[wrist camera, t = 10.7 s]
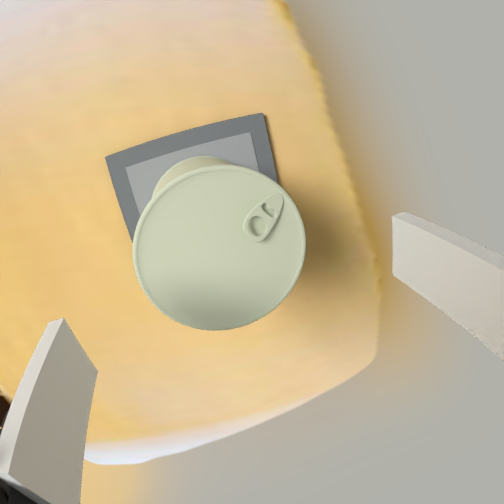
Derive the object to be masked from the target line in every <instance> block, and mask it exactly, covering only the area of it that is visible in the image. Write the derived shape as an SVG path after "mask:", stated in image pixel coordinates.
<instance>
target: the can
mask: <svg viewBox="0 0 504 504" xmlns="http://www.w3.org/2000/svg"><path fill="white" fill-rule="evenodd" d="M305 252H306V235H305V229H304V224H303V221H302V218H301V215H300V213H299V211H298V209H297V207H296V205H295V203H294V201H293V200H292V199H291V197H290V196H289V195H288V193H287V192H286V191H285V190H284V189H283V188H282V187H281V186H280V185H279V184H277V183H276V182H275V181H273V180H272V179H271V178H269V177H267V176H266V175H264V174H262V173H260V172H257V171H255V170H252V169H249V168H246V167H241V166H236V165H233V164H232V163H230V162H228V161H226V160H224V159H221V158H217V157H212V156H196V157H192V158H188V159H185V160H183V161H181V162H179V163H177V164H175V165H174V166H172V167H171V168H170V169H169V170H168V171H166V172H165V174H164V175H163V176H162V177H161V178H160V180H159V181H158V183H157V185H156V187H155V189H154V191H153V195H152V199H151V200H150V201H149V203H148V204H147V206H146V207H145V209H144V211H143V213H142V215H141V217H140V219H139V221H138V224H137V226H136V230H135V234H134V239H133V263H134V268H135V272H136V276H137V279H138V281H139V284H140V286H141V288H142V289H143V291H144V293H145V294H146V296H147V297H148V299H149V300H150V301H151V302H152V303H153V304H154V306H155V307H156V308H157V309H159V310H160V311H161V312H162V313H163V314H165V315H166V316H168V317H169V318H171V319H173V320H174V321H176V322H178V323H181V324H183V325H186V326H189V327H192V328H196V329H202V330H229V329H234V328H238V327H242V326H245V325H248V324H250V323H252V322H255V321H257V320H259V319H260V318H262V317H264V316H265V315H267V314H268V313H270V312H271V311H272V310H274V309H275V308H276V307H277V306H278V305H279V304H280V303H281V302H282V301H283V300H284V299H285V298H286V297H287V295H288V294H289V293H290V291H291V290H292V288H293V287H294V285H295V283H296V281H297V280H298V278H299V275H300V273H301V270H302V267H303V263H304V259H305Z"/></svg>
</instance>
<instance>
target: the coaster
mask: <svg viewBox="0 0 504 504" xmlns="http://www.w3.org/2000/svg"><path fill="white" fill-rule="evenodd" d="M196 156H212V157H217V158H221V159H224V160H226V161H228V162H230V163H232V164H233V165H236V166H241V167H246V168H249V169H252V170H255V171H257V172H260V173H262V174H264V175H266V176H267V177H269V178H271V179H272V180H273V181H275V182H276V183H277V184H278V180H277V175H276V171H275V166H274V161H273V157H272V152H271V147H270V143H269V138H268V134H267V130H266V125H265V121H264V116H263V113H258V114H253V115H248V116H243V117H238V118H234V119H229V120H225V121H221V122H217V123H212V124H208V125H204V126H201V127H197V128H193V129H189V130H186V131H182V132H179V133H175V134H172V135H168V136H165V137H162V138H159V139H155V140H152V141H149V142H146V143H143V144H140V145H137V146H134V147H131V148H128V149H126V150H123V151H120V152H117V153H115V154H112V155H109V156H107V157H105V159H106V162H107V166H108V169H109V173H110V176H111V180H112V183H113V186H114V189H115V193H116V196H117V199H118V202H119V205H120V208H121V211H122V214H123V217H124V220H125V223H126V226H127V229H128V231H129V234H130V237H131V240H132V242H133V239H134V234H135V230H136V226H137V224H138V221H139V219H140V217H141V215H142V213H143V211H144V209H145V207H146V206H147V204H148V203H149V201H150V200H151V199H152V195H153V191H154V189H155V187H156V185H157V183H158V181H159V180H160V178H161V177H162V176H163V175H164V174H165V172H166V171H168V170H169V169H170V168H171V167H172V166H174V165H175V164H177V163H179V162H181V161H183V160H185V159H188V158H192V157H196Z"/></svg>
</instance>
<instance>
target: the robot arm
mask: <svg viewBox="0 0 504 504" xmlns="http://www.w3.org/2000/svg"><path fill="white" fill-rule="evenodd" d="M392 233H393V234H392V236H393V273H392V274H393V276H395V277H396V278H398V279H399V280H401V281H402V282H403V283H405V284H406V285H407V286H409V287H410V288H411V289H413V290H414V291H416V292H417V293H418V294H420V295H421V296H423V297H424V298H425V299H426V300H428V301H429V302H431V303H432V304H433V305H435V306H436V307H437V308H439V309H440V310H441V311H442V312H444V313H445V314H446V315H448V316H449V317H450V318H451V319H453V320H454V321H455V322H457V323H458V324H459V325H460V326H462V327H463V328H464V329H465V330H467V331H468V332H469V333H471V334H472V335H473V336H474V337H476V338H477V339H478V340H479V341H480V342H482V343H483V344H484V345H485V346H487V347H488V348H489V349H490V350H491V351H493V352H494V353H495V354H496V355H497V356H498V357H500V358H501V359H502V360H503V361H504V257H503V256H501V255H499V254H497V253H495V252H493V251H491V250H489V249H487V248H485V247H483V246H481V245H479V244H477V243H475V242H473V241H471V240H469V239H467V238H465V237H463V236H461V235H459V234H456V233H454V232H452V231H450V230H448V229H445V228H443V227H441V226H439V225H436V224H434V223H432V222H430V221H427V220H425V219H423V218H420V217H418V216H415V215H413V214H411V213H408V212H406V211H405V212H402V213H399V214H396V215H393V216H392ZM97 373H98V371H97V369H96V368H95V366H94V365H93V363H92V362H91V360H90V359H89V358H88V356H87V355H86V353H85V351H84V350H83V348H82V347H81V345H80V344H79V342H78V340H77V339H76V337H75V336H74V334H73V332H72V331H71V329H70V327H69V326H68V324H67V322H66V320H65V319H64V318H61V319H58V320H55V321H51V322H49V323H48V325H47V327H46V329H45V331H44V333H43V335H42V337H41V339H40V341H39V343H38V345H37V347H36V349H35V351H34V353H33V355H32V357H31V359H30V361H29V364H28V366H27V368H26V370H25V372H24V375H23V377H22V379H21V382H20V384H19V386H18V389H17V391H16V394H15V396H14V399H13V401H12V404H11V407H10V408H9V410H8V411H7V413H6V414H5V417H4V420H3V423H2V426H1V427H2V429H0V504H80V495H81V481H82V480H81V479H82V468H83V459H84V450H85V442H86V434H87V427H88V421H89V415H90V409H91V403H92V397H93V392H94V387H95V382H96V377H97Z"/></svg>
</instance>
